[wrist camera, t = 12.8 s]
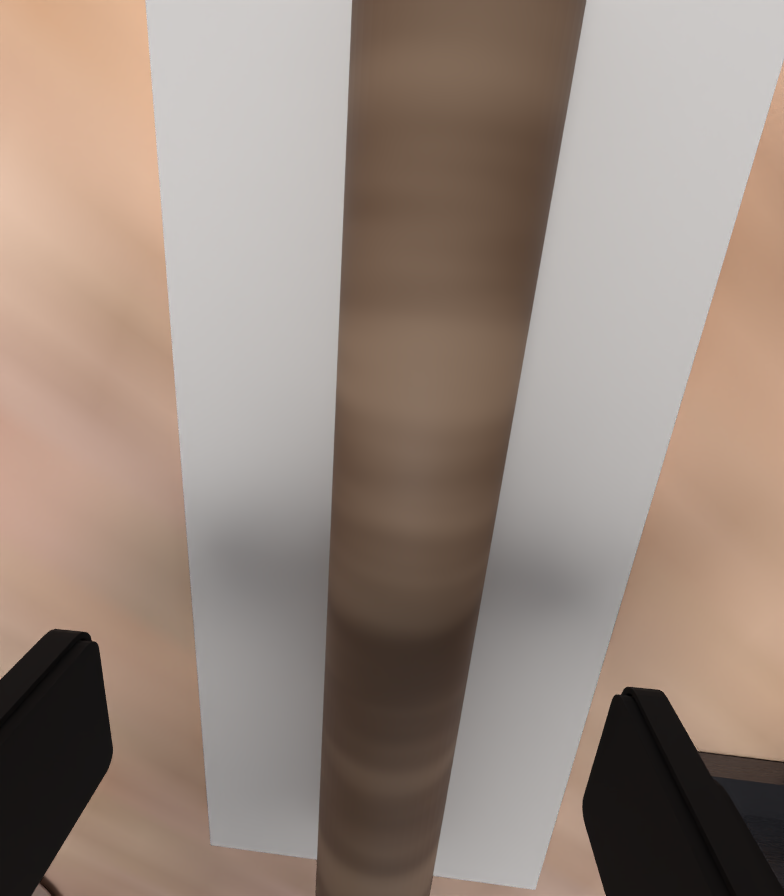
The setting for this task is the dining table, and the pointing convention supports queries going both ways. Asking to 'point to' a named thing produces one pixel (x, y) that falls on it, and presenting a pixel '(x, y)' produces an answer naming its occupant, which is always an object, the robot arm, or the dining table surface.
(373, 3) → the rod
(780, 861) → the rack
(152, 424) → the dining table surface
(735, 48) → the mat
